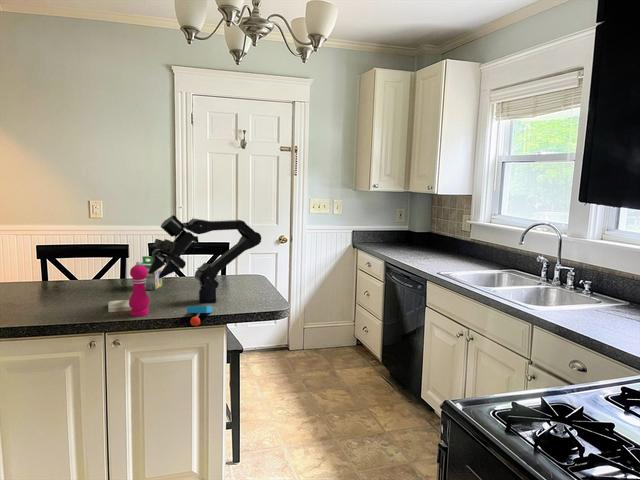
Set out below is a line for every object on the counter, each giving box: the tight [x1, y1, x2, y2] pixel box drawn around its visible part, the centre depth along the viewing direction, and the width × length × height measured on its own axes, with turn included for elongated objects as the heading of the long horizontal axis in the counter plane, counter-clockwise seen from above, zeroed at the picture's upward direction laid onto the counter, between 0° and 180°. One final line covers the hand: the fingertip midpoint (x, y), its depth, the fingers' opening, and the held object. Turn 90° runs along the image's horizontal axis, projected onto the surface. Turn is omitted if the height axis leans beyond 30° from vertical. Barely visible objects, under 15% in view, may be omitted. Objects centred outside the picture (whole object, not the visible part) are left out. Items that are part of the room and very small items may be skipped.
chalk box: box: [134, 255, 163, 291], centre depth 212 cm, size 9×9×15 cm
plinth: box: [107, 299, 132, 313], centre depth 181 cm, size 10×10×2 cm
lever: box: [186, 305, 213, 327], centre depth 170 cm, size 7×7×18 cm
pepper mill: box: [128, 260, 151, 317], centre depth 172 cm, size 7×7×20 cm
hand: (154, 275), depth 178 cm, fingers open, 9 cm apart
